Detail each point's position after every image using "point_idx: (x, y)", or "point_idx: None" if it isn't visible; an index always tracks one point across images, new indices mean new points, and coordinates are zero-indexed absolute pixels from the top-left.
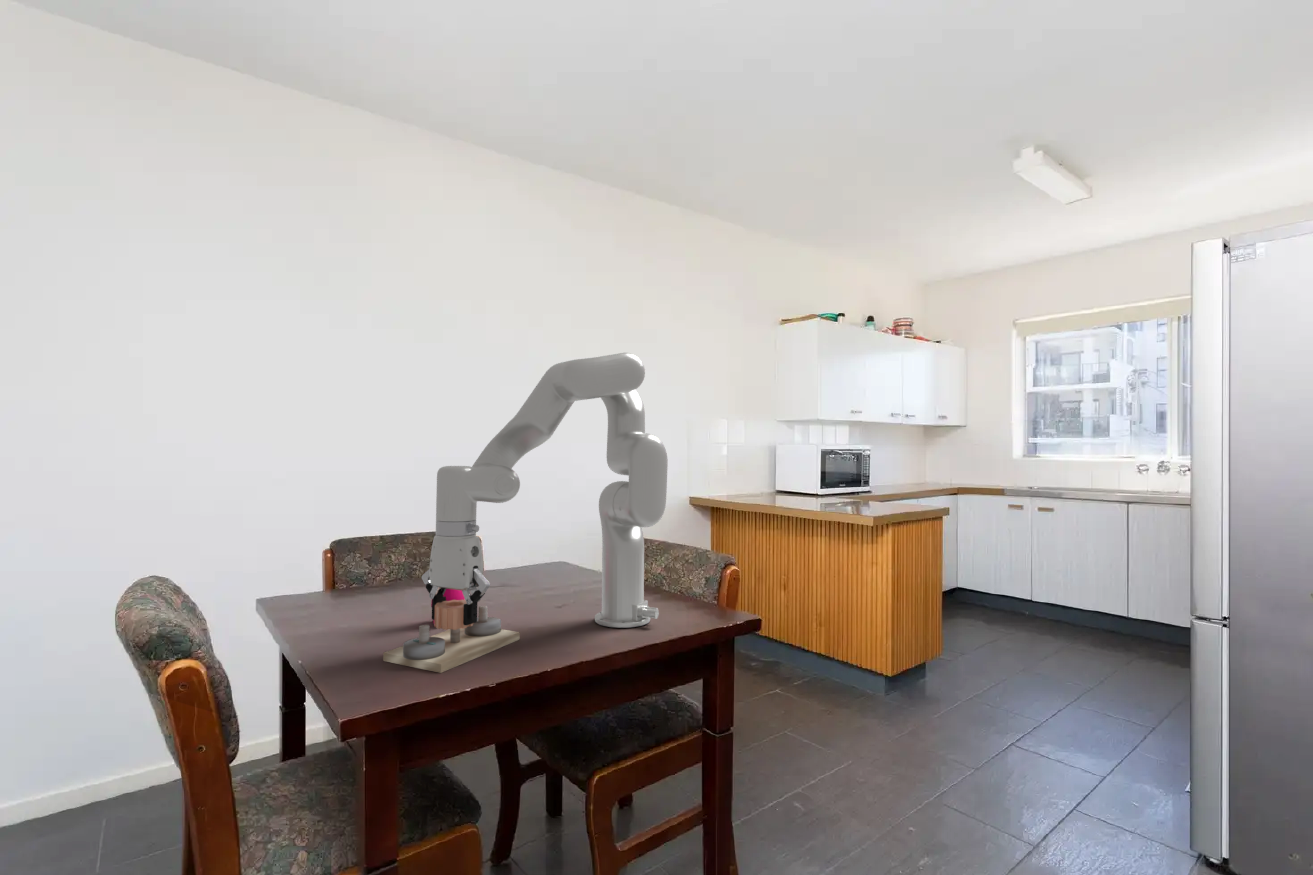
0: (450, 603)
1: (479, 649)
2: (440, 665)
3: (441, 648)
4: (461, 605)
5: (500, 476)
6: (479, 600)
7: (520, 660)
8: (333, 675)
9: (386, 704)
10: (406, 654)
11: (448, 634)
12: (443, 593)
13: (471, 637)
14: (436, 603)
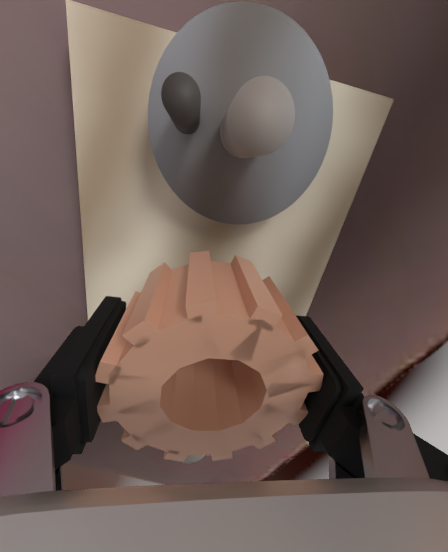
0: (166, 377)
1: (306, 312)
2: None
3: None
4: (268, 404)
5: None
6: (390, 411)
7: (402, 292)
8: (86, 450)
9: (253, 473)
10: None
11: (128, 222)
12: (51, 415)
13: (234, 231)
14: (103, 421)
